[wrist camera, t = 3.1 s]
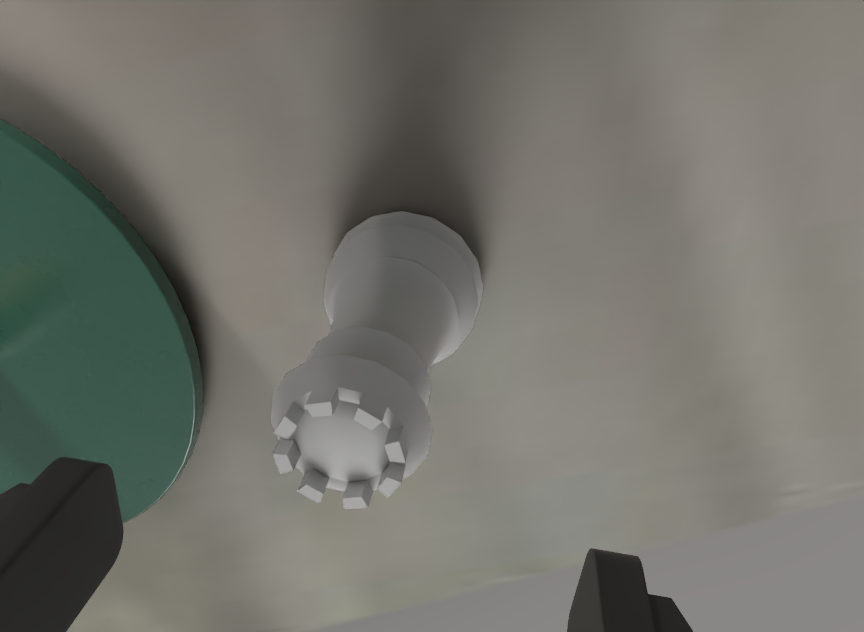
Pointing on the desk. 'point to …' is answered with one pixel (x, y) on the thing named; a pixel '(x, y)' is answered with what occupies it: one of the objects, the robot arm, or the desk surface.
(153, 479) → the lid
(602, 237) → the desk surface
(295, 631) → the desk surface
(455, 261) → the rook chess piece
